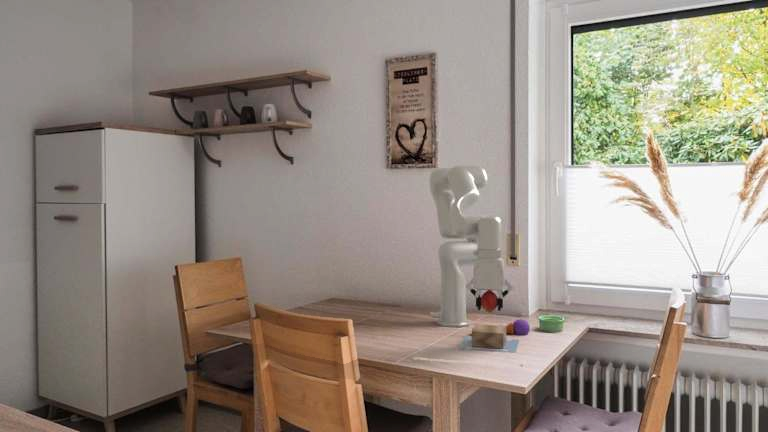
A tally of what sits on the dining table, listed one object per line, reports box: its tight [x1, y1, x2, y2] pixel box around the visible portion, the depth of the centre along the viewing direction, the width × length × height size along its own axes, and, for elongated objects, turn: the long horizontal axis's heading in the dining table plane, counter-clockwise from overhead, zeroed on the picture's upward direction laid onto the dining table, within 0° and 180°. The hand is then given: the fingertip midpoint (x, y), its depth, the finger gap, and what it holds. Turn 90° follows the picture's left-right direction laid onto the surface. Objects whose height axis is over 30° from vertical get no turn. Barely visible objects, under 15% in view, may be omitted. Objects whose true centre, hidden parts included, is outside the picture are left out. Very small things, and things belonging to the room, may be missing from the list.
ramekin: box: [538, 315, 565, 333], centre depth 211 cm, size 9×9×4 cm
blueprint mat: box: [457, 336, 520, 354], centre depth 189 cm, size 18×16×1 cm
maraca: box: [471, 318, 531, 336], centre depth 202 cm, size 6×6×20 cm
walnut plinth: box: [471, 324, 507, 349], centre depth 189 cm, size 10×10×5 cm
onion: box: [480, 290, 499, 314], centre depth 188 cm, size 6×6×8 cm
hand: (489, 309), depth 188 cm, fingers closed on onion, 5 cm apart
